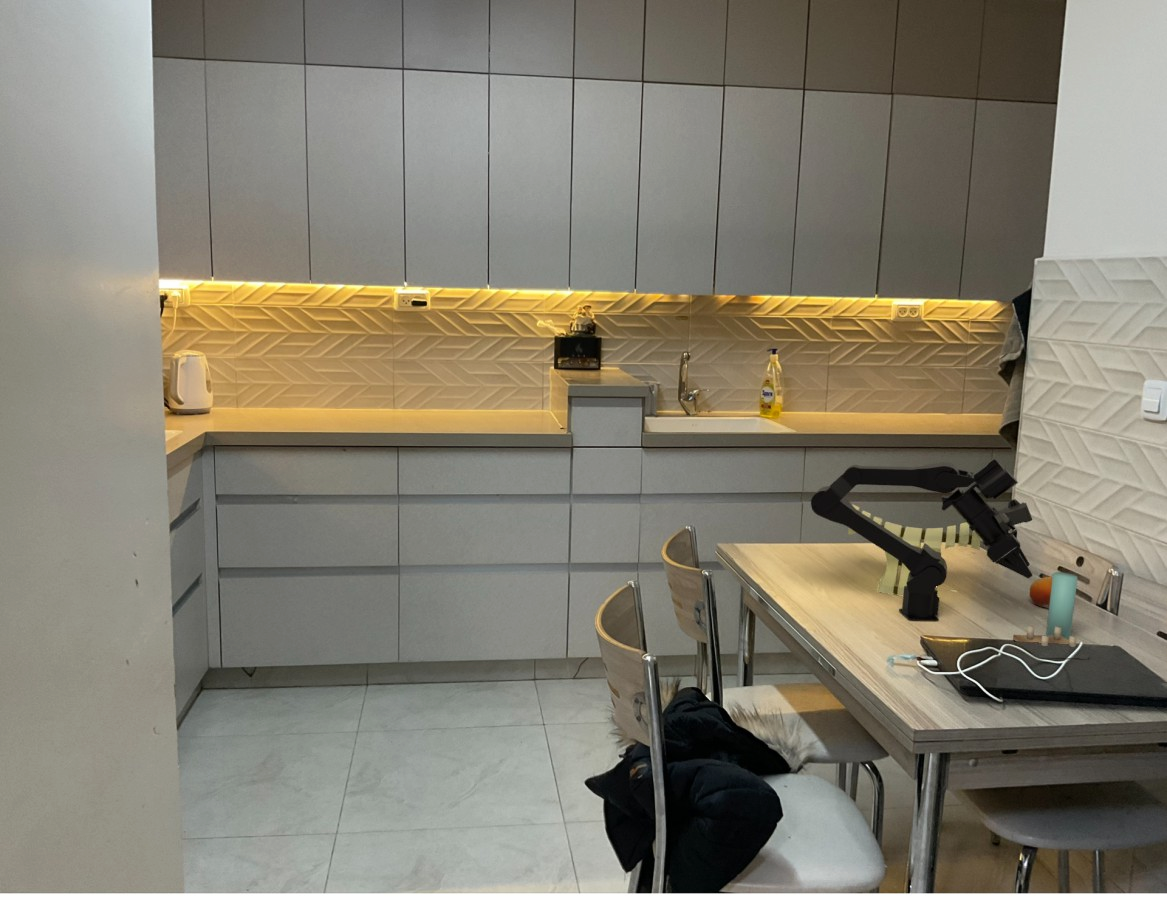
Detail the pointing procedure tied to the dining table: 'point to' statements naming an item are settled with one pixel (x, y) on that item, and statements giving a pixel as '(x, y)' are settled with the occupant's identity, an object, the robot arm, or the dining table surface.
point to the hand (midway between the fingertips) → (1029, 571)
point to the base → (1045, 637)
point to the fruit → (1041, 591)
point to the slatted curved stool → (913, 537)
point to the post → (1062, 603)
